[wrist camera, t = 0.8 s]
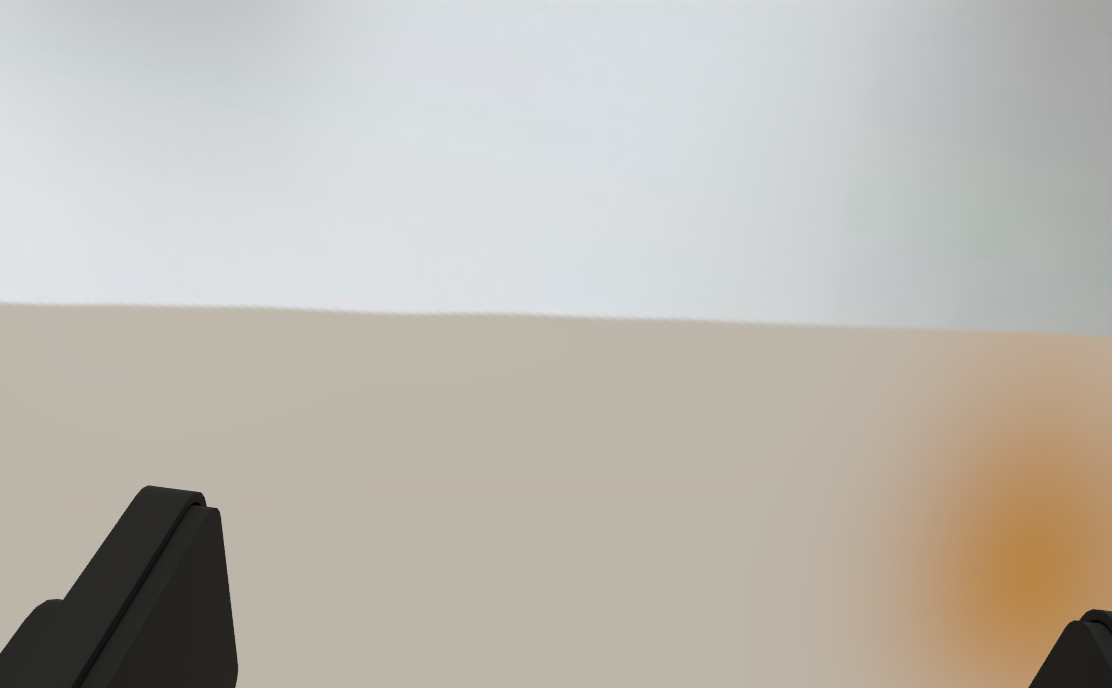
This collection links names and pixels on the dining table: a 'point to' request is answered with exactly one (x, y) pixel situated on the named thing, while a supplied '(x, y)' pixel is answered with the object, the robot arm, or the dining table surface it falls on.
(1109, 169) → the dining table surface
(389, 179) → the dining table surface
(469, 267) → the dining table surface
